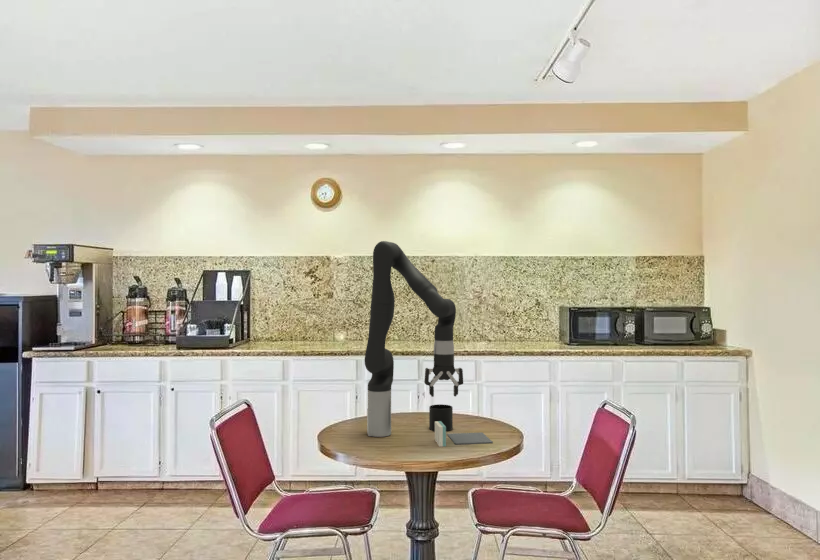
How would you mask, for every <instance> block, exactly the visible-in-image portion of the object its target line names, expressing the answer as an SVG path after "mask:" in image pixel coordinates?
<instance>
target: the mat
mask: <svg viewBox="0 0 820 560" xmlns="http://www.w3.org/2000/svg"><path fill="white" fill-rule="evenodd" d="M446 436H448V438H449V439H450V440H451V442H453V444H454V445H460V446H462V445H478V444H479V445H481V444H493V443H494V442H493V441H492V439H490V438H489V437H488V436H487V435H486V434H485V433H484V432H460V433H459V432H456V433H454V432H453V433H446Z"/></svg>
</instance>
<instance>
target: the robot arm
mask: <svg viewBox="0 0 820 560" xmlns="http://www.w3.org/2000/svg"><path fill="white" fill-rule="evenodd" d="M392 268H393V269H394V270H395V271H397V272H398V273H399V274H400V275H401V276H402V277H403V278H404V280H405V282H406V283H407V285H408V286H409V287H410V289H411V290H412V291H413V293H415V294H416V295H417V296H418V298H420V299H421V300H422V301H423V303H424V304H425V305H426V307H427V308H428V311H430V312H431V314H432V315H434V316H435V317H437V318H438V319H437V324H436V326H435V327H434V341H433V342H434V343H433V367H432V368H428V367H426V368H425V370H424V384H425V385H426V386H429V387H428V389H429V390H428V391H429V393H428V394H429V395H430V396H431V397H432V398H433V397H434V395H435V394H434V392H435V391H434V389H435V387H434V385H435V384H436V383H437V382H438V380H439V381H444V380H445V381H449V380H450V382H452V383H453V396H454V397H457V396H458V395H459V386H461V385H463V384H464V373H463V372H464V371H463V368H462V367H458V368H455V343H454V325H455V321H456V315H457V310H456V304H455V302H454V301H453V300H452V299H449V298H443V297H442V295H441V294H439V291H438V289H437V287H436V286H435V285H434V283H432V282H431V281H430V280H429V279H428V278H427V277H426V276H425V275H424V274H422V272H421V271H419V270H418V268H417V267H416V266H415V265H414V264H413V263H412V261H411V260H410V259H409V258H408V256H407V255H406V254H405V252H404V251H403V249H401V247H400V246H399V245H398V244H397V243H395V242H391V241H386V240H381V241H379V242H378V243H376V244H375V246H374V248H373V251H372V269H373V270H372V275H373V276H372V286H371V287H372V288H371V291H372V292H371V300H370V310H369V326H368V337H367V338H368V339H367V342H366V343H367V344H366V348H365V355H364V365H365V369H366V370H367V371H368V373H370V374H371V377H370V380H369V381H368V382H367V408H366V418H367V419H366V424H367V425H366V431H367V432H366V433H367V437H374V438H375V437H376V438H377V437H378V438H380V437H381V438H383V437H388V436H391V435H392V385H393V382H394V367H395V366H394V363H395V361H394V356H393V354H392V351H390V350H389V349H387V348H386V339H387V335H388V333H389V330H390V328H391V325H392V322H393V320H394V314H395V301H396V300H395V294H394V290H393V285H392V280H391V278H392V277H391V276H392V275H391V273H392ZM432 373H433V374H434V376H433V377H432V379H431V380H430V381H429V379H430V375H431V374H432ZM455 373H456V374H457V375H458V381H457V380H456V378H454V374H455Z"/></svg>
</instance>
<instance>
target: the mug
mask: <svg viewBox="0 0 820 560" xmlns="http://www.w3.org/2000/svg"><path fill="white" fill-rule="evenodd" d="M428 407H429V408H428V411H429V413H428V414H429V415H428V419H429V421H428V422H429V423H428V424H429V425H428V426H429V430H430V431H433V432H435V421H441V422H442V423H443V424H444V425H445V426H446V432H450V431H452V430H453V428H454V427H453V426H454V425H453V423H454V422H453V416H454V415H453V406H452V405H450V404H443V403H442V404H431V405H429V406H428Z"/></svg>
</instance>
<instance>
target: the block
mask: <svg viewBox="0 0 820 560" xmlns="http://www.w3.org/2000/svg"><path fill="white" fill-rule="evenodd" d="M434 441H435V442H437V443H436V444H437V445H438V447H439V448H441V447H442V448H443V447H447V431H446V426H445V425H444V424H443V423H442V422H441V421H435V431H434Z"/></svg>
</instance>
